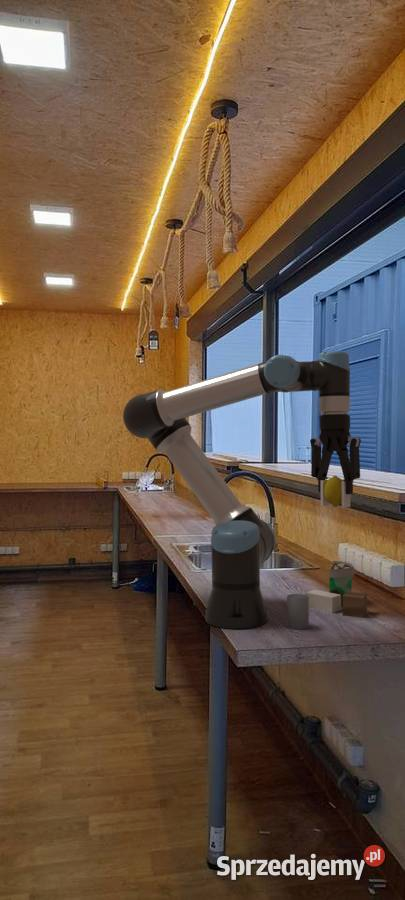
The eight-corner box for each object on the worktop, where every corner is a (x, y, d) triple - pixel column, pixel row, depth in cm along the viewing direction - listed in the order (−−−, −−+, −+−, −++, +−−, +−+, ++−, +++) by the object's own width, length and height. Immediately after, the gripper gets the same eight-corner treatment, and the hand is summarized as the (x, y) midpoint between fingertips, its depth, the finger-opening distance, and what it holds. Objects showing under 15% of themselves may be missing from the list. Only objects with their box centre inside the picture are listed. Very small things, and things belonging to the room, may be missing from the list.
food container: (353, 609, 162) (353, 570, 161) (329, 608, 163) (328, 569, 163) (356, 597, 173) (356, 561, 173) (333, 596, 175) (333, 560, 175)
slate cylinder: (300, 631, 145) (300, 600, 144) (282, 626, 148) (282, 596, 148) (312, 626, 148) (312, 596, 148) (294, 622, 152) (294, 592, 152)
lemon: (349, 508, 156) (349, 476, 156) (327, 509, 156) (327, 476, 156) (343, 506, 162) (342, 474, 162) (321, 506, 161) (321, 475, 161)
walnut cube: (363, 618, 154) (362, 597, 154) (342, 615, 157) (342, 595, 157) (367, 612, 159) (367, 593, 159) (347, 610, 161) (347, 591, 161)
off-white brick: (332, 613, 159) (332, 597, 159) (306, 607, 165) (306, 592, 165) (341, 610, 162) (340, 594, 162) (315, 604, 168) (315, 589, 168)
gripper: (375, 412, 154) (376, 507, 155) (313, 415, 167) (314, 502, 168) (358, 412, 149) (359, 510, 149) (295, 415, 162) (296, 505, 163)
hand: (335, 506), depth 159 cm, fingers closed on lemon, 5 cm apart
